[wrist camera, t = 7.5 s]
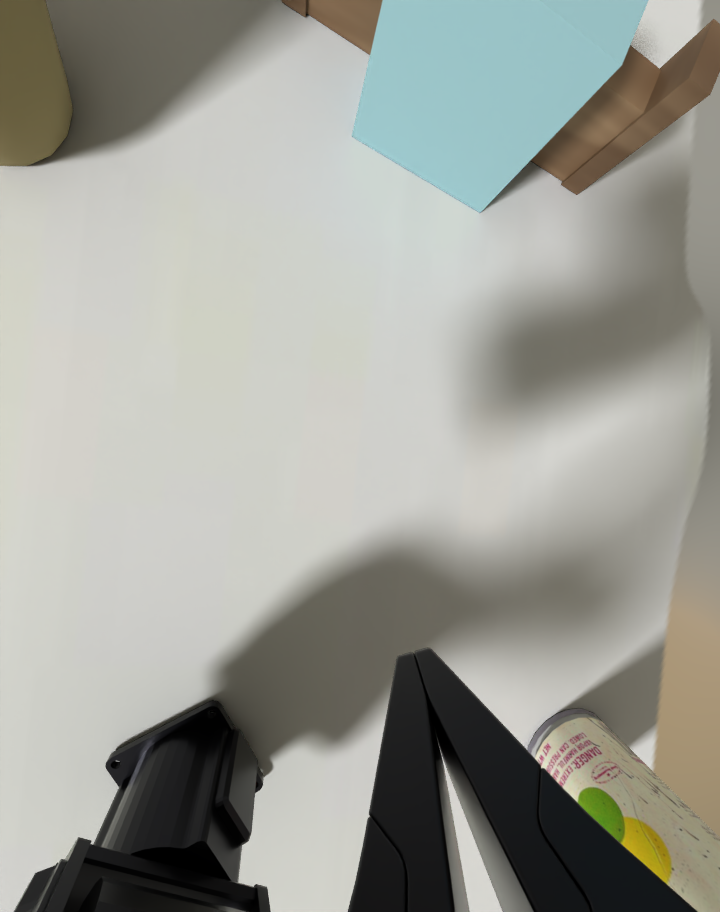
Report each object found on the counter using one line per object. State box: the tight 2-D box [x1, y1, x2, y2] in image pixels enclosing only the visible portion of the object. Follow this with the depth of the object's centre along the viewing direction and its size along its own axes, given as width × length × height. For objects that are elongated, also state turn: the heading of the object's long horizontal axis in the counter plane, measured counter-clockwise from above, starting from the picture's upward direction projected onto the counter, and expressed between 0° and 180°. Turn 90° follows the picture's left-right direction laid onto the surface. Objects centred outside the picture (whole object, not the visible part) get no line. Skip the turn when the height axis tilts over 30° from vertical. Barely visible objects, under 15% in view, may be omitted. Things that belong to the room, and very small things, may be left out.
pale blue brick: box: [352, 0, 648, 213], centre depth 15 cm, size 8×8×9 cm
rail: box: [282, 0, 720, 195], centre depth 16 cm, size 2×18×7 cm, turn 67°
